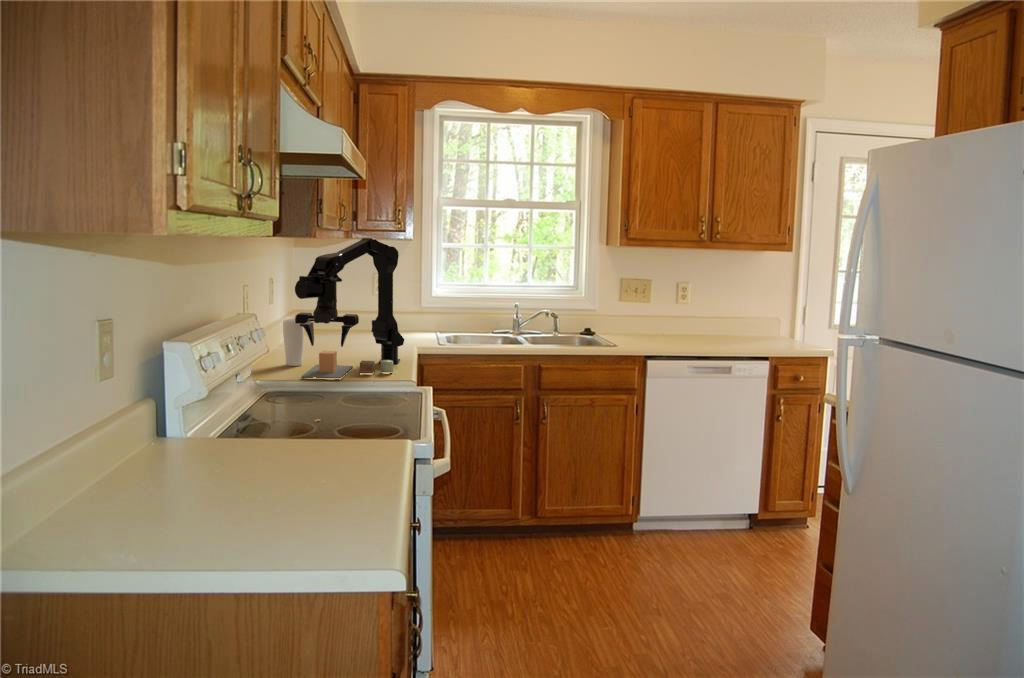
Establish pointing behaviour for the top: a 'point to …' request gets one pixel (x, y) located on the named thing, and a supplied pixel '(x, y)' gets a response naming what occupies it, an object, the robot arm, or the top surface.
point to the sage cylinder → (386, 366)
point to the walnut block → (366, 366)
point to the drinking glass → (293, 342)
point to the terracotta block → (328, 361)
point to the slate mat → (337, 374)
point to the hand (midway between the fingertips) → (327, 346)
